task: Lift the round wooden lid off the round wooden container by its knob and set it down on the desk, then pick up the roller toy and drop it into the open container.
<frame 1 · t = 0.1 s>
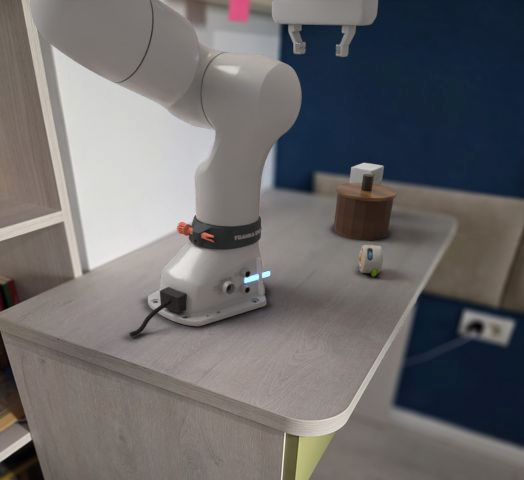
hand: (319, 55, 89), 39 cm above the table, tool pointing down, fingers open, 8 cm apart
round wooden container: (360, 231, 128), on the table
lid: (365, 193, 123), point 10 cm above the table, touching round wooden container
roller toy: (368, 273, 105), on the table
small box: (361, 214, 141), on the table
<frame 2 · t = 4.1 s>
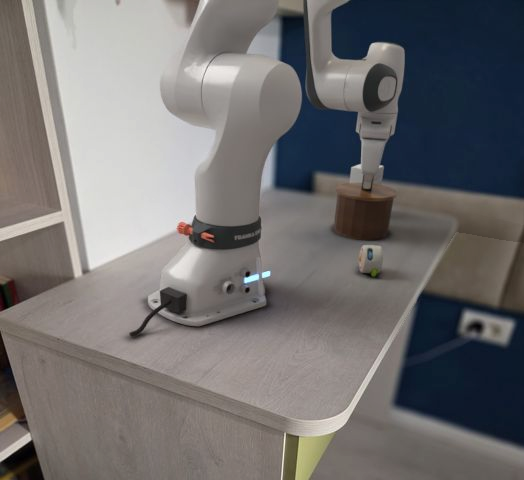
hand: (366, 186, 122), 11 cm above the table, tool pointing down, fingers closed on lid, 2 cm apart
lid: (365, 193, 123), point 10 cm above the table, touching gripper, round wooden container
everything else where it was.
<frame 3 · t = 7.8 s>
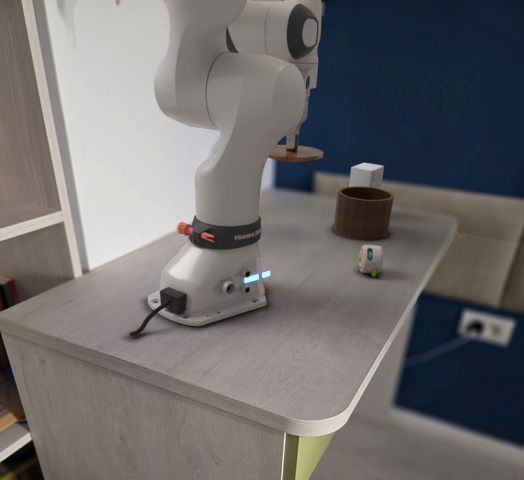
hand: (291, 146, 114), 20 cm above the table, tool pointing down, fingers closed on lid, 2 cm apart
lid: (291, 154, 114), point 19 cm above the table, touching gripper
everything else where it was.
when the fingers open (2 cm above the table, at t = 11.9 s): lid stays where it is, point 1 cm above the table.
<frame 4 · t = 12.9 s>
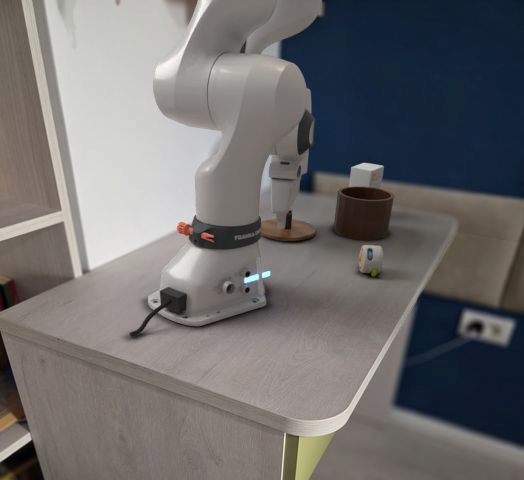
hand: (284, 222, 123), 3 cm above the table, tool pointing down, fingers open, 8 cm apart
lid: (285, 230, 124), point 1 cm above the table
everything else where it was.
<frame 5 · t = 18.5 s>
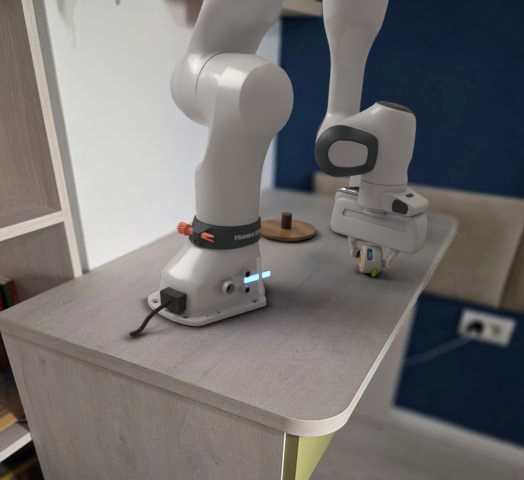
hand: (370, 262, 104), 2 cm above the table, tool pointing down, fingers closed on roller toy, 6 cm apart
roller toy: (368, 273, 105), on the table, touching gripper
everything else where it was.
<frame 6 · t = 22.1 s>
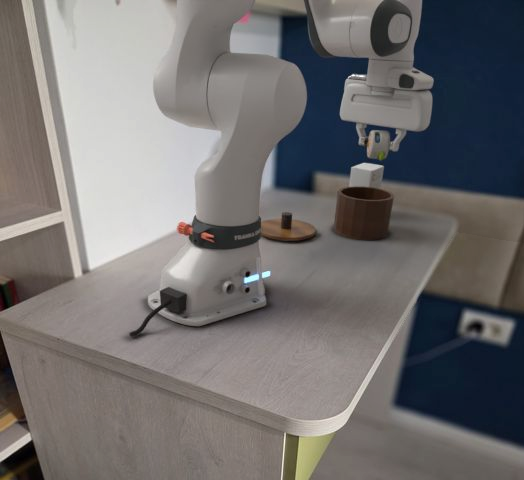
hand: (378, 148, 109), 22 cm above the table, tool pointing down, fingers closed on roller toy, 6 cm apart
roller toy: (375, 159, 110), point 19 cm above the table, touching gripper
everything else where it was.
when the fingers open (11 cm above the table, at t = 26.0 s): roller toy drops 8 cm, resting on round wooden container.
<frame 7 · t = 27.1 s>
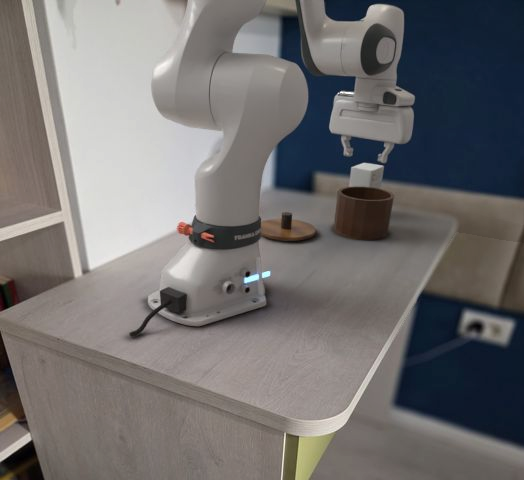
hand: (364, 159, 118), 18 cm above the table, tool pointing down, fingers open, 8 cm apart
roller toy: (360, 229, 127), resting on round wooden container
everything else where it was.
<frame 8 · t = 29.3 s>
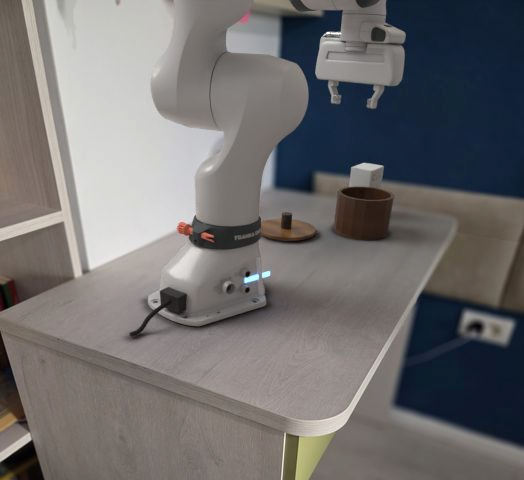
hand: (353, 106, 110), 29 cm above the table, tool pointing down, fingers open, 8 cm apart
nothing on the table moved.
at the end: lid inside the target area (0.2 cm from its centre), point 0.6 cm above the table; roller toy inside the target area in the round wooden container (0.5 cm from its centre), point 0.4 cm above the round wooden container's base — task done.
